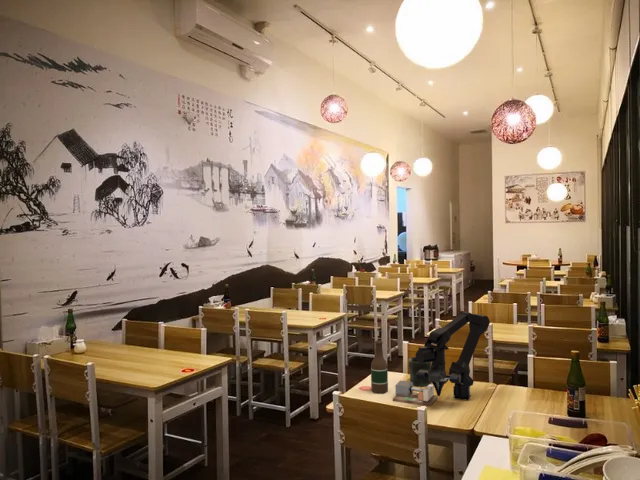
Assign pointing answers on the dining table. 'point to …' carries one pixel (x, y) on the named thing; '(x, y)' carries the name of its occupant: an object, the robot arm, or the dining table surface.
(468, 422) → the dining table surface
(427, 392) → the plunger
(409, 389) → the notched steel block
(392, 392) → the dining table surface
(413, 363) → the mug
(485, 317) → the robot arm
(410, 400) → the base
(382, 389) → the beer bottle
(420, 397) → the peach cube
